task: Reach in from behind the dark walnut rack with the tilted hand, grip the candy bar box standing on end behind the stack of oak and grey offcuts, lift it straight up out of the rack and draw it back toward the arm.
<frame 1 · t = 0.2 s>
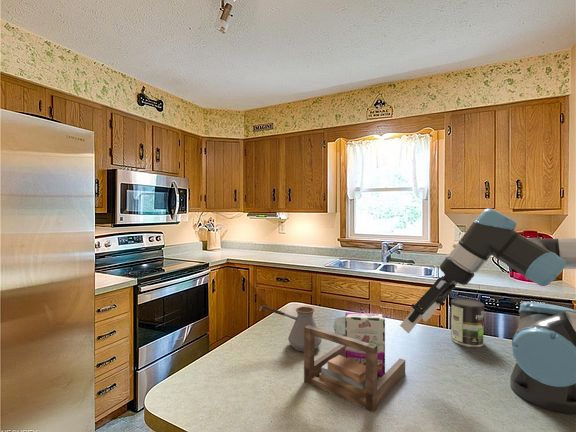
hand: (413, 323, 87), 15 cm above the counter, tool tilted 35°, fingers open, 13 cm apart
coffee can: (466, 341, 112), on the counter
offcut stack: (347, 385, 83), resting in offcut rack
stone slab: (345, 328, 125), on the counter
coffee pot: (290, 348, 106), on the counter
candy bar box: (364, 371, 91), on the counter
offcut rack: (356, 377, 87), on the counter
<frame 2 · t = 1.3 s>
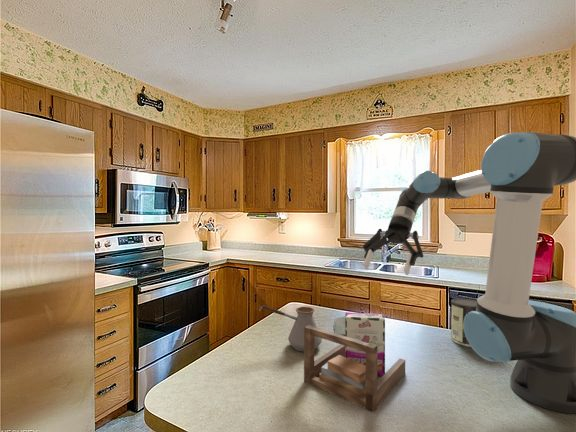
hand: (384, 269, 101), 28 cm above the counter, tool tilted 45°, fingers open, 13 cm apart
nothing on the counter moved.
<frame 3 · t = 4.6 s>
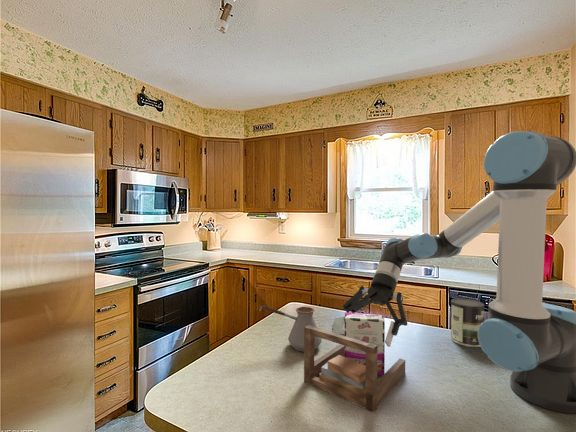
hand: (364, 338, 92), 9 cm above the counter, tool tilted 45°, fingers open, 13 cm apart
candy bar box: (363, 371, 91), on the counter, touching gripper
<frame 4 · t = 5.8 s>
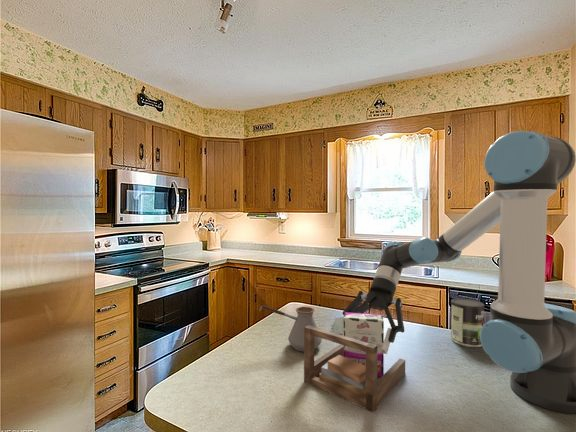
hand: (363, 345, 90), 8 cm above the counter, tool tilted 45°, fingers closed on candy bar box, 12 cm apart
candy bar box: (363, 371, 91), on the counter, touching gripper
everything else where it was.
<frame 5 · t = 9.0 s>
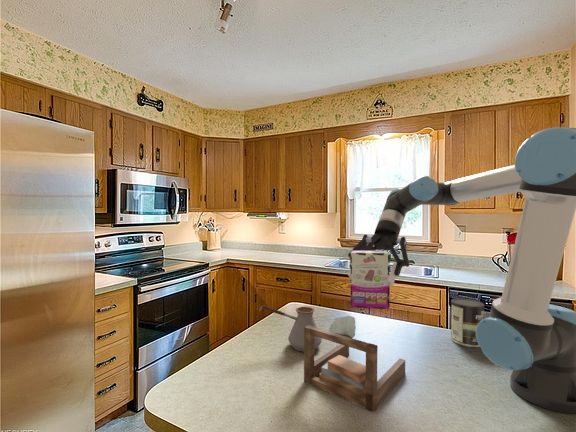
hand: (369, 280, 92), 26 cm above the counter, tool tilted 45°, fingers closed on candy bar box, 12 cm apart
candy bar box: (369, 306, 93), point 18 cm above the counter, touching gripper
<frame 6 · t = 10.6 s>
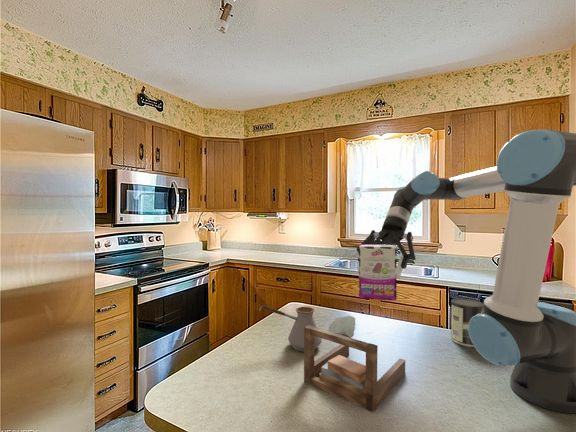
hand: (377, 273, 97), 27 cm above the counter, tool tilted 45°, fingers closed on candy bar box, 12 cm apart
candy bar box: (376, 297, 97), point 19 cm above the counter, touching gripper
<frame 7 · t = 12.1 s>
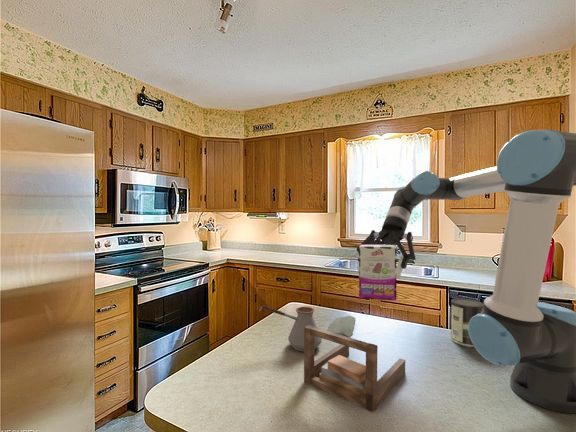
hand: (377, 273, 97), 27 cm above the counter, tool tilted 45°, fingers closed on candy bar box, 12 cm apart
candy bar box: (376, 297, 97), point 19 cm above the counter, touching gripper
at the end: candy bar box point 19.5 cm above the counter; the gripper is holding candy bar box; candy bar box inside the target area (2.6 cm from its centre), point 19.5 cm above the counter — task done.
